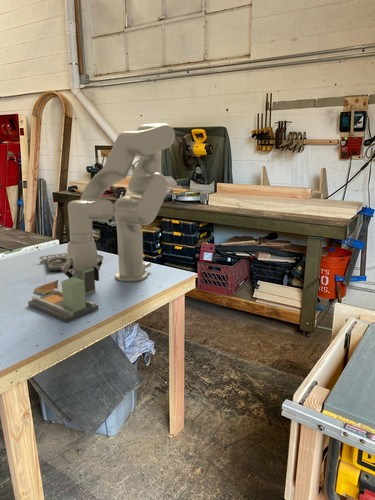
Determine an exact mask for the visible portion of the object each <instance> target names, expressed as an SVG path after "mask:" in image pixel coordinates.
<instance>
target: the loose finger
mask: <svg viewBox="0 0 375 500" xmlns="http://www.w3.org/2000/svg"><path fill="white" fill-rule="evenodd" d="M75 278H78V279H81V280H84V289H85V296H87V295H89V294H92V293H94V292H96V280H95V278H94V267H91V268H88V269H85V270H82V271H78V272H77V274H76V276H75Z"/></svg>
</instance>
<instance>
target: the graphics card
mask: <svg viewBox="0 0 375 500" xmlns="http://www.w3.org/2000/svg"><path fill="white" fill-rule="evenodd" d="M39 260H40V261H39V263H40V264H44V263H46V265H47V270H48V271H50V272H51V271H62V269H61V267H62V266H63V265H64V264H65V263H66V262H67V252H66V253H65V252H64V253H56V254H50V255H49V254H48V255H42V256H40V257H39ZM62 272H63V271H62Z"/></svg>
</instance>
